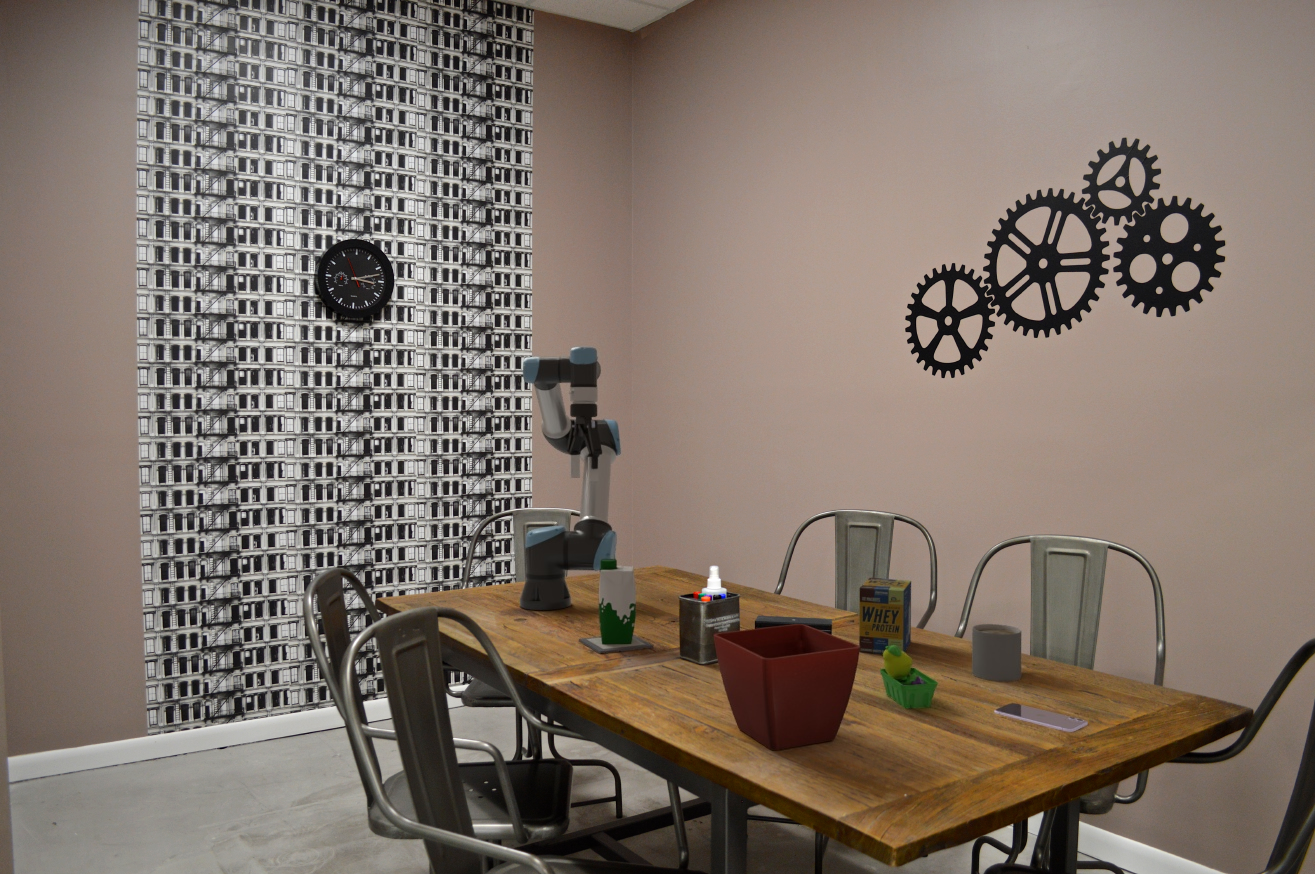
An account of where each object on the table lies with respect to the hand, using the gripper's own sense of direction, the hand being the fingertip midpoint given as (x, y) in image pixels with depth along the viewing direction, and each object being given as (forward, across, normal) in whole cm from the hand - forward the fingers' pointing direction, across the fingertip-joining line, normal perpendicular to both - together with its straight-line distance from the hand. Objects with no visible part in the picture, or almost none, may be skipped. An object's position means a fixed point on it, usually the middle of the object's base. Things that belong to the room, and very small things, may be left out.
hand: (584, 479), depth 257 cm
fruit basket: (+38, +100, +28) cm, 110 cm away
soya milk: (+38, +32, -4) cm, 50 cm away
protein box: (+39, +64, +53) cm, 91 cm away
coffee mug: (+38, +94, +60) cm, 118 cm away
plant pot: (+38, +105, -4) cm, 112 cm away
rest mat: (+38, +32, -5) cm, 50 cm away
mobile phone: (+39, +118, +43) cm, 132 cm away
